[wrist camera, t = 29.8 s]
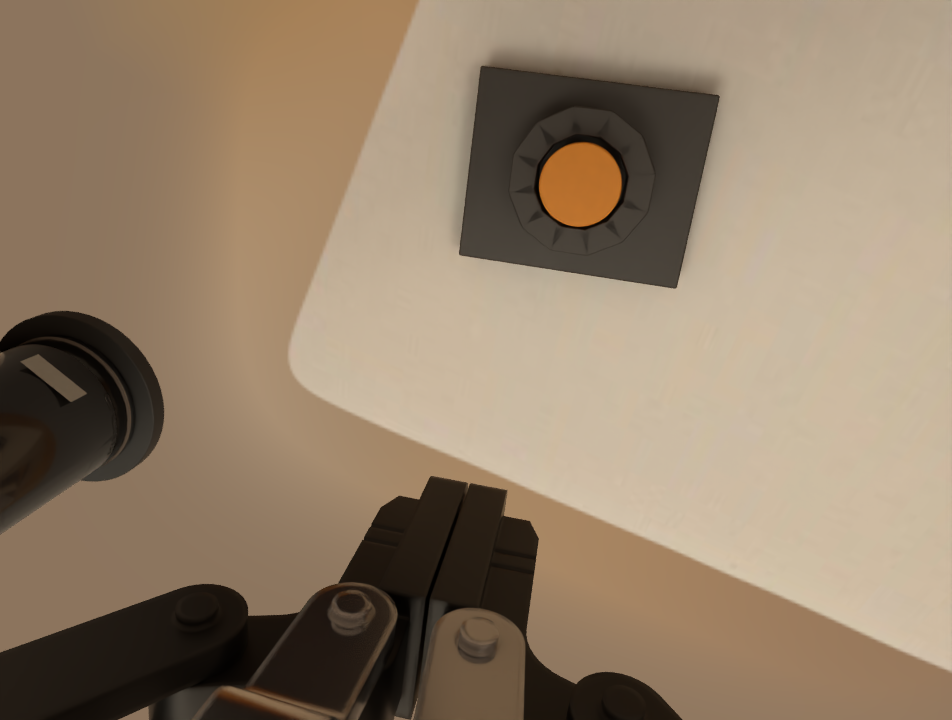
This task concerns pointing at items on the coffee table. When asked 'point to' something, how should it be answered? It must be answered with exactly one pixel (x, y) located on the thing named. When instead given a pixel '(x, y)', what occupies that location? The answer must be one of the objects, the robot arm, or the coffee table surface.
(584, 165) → the button
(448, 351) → the coffee table surface
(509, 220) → the push button panel
